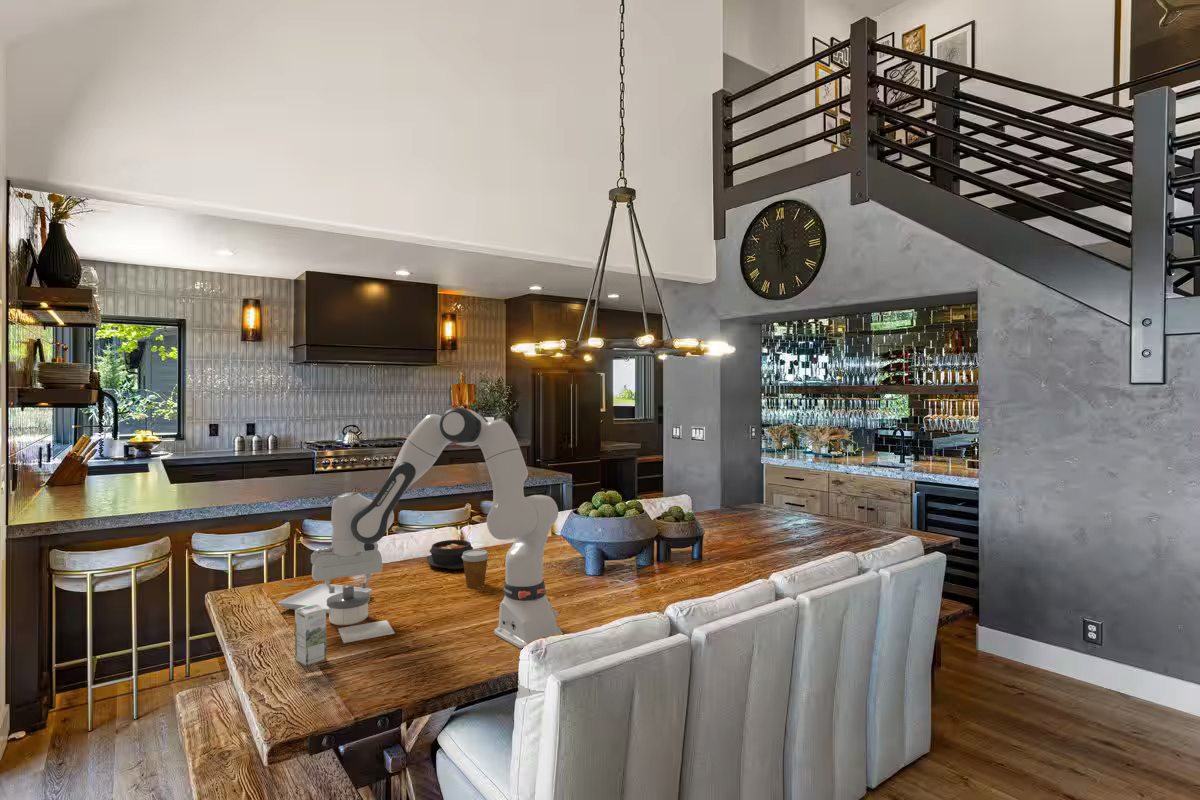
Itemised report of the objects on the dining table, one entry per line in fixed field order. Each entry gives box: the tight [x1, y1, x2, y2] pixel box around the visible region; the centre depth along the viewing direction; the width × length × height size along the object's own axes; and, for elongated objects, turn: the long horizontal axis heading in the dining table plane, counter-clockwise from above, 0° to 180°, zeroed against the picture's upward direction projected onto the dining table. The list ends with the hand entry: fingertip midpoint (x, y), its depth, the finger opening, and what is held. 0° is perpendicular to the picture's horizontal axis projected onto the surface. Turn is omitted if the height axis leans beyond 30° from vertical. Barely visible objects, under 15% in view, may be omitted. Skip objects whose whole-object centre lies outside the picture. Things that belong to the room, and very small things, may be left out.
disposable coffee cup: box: [462, 549, 490, 589], centre depth 237 cm, size 10×10×12 cm
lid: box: [327, 584, 371, 609], centre depth 203 cm, size 12×12×5 cm
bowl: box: [328, 602, 369, 626], centre depth 203 cm, size 11×11×6 cm
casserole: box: [426, 539, 474, 570], centre depth 263 cm, size 25×19×8 cm
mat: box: [337, 619, 396, 644], centre depth 193 cm, size 12×14×1 cm
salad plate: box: [277, 583, 372, 615], centre depth 219 cm, size 21×21×3 cm
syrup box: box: [294, 604, 327, 666], centre depth 174 cm, size 6×6×14 cm
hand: (348, 590), depth 203 cm, fingers open, 8 cm apart
